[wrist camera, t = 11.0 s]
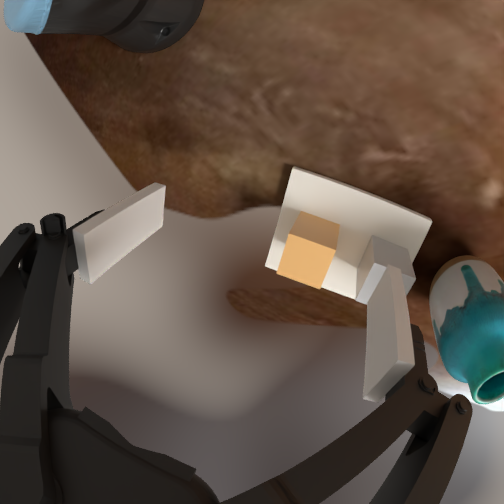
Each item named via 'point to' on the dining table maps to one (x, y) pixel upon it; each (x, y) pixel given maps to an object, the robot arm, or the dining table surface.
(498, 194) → the dining table surface
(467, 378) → the vase
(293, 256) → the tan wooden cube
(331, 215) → the plate
